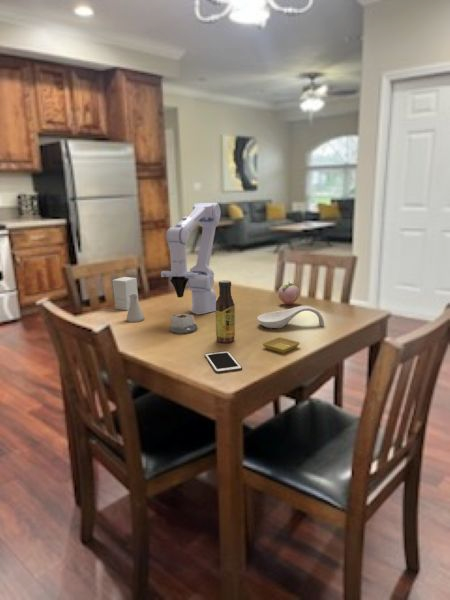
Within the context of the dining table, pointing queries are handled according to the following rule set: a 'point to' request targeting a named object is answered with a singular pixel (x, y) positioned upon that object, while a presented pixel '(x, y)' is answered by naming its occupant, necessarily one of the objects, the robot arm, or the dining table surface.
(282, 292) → the decorative fruit
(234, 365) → the cell phone
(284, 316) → the spoon rest
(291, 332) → the dining table surface
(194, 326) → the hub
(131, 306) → the flask
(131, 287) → the supplement box
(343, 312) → the dining table surface
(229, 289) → the sauce bottle
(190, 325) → the collar
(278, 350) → the saucer
